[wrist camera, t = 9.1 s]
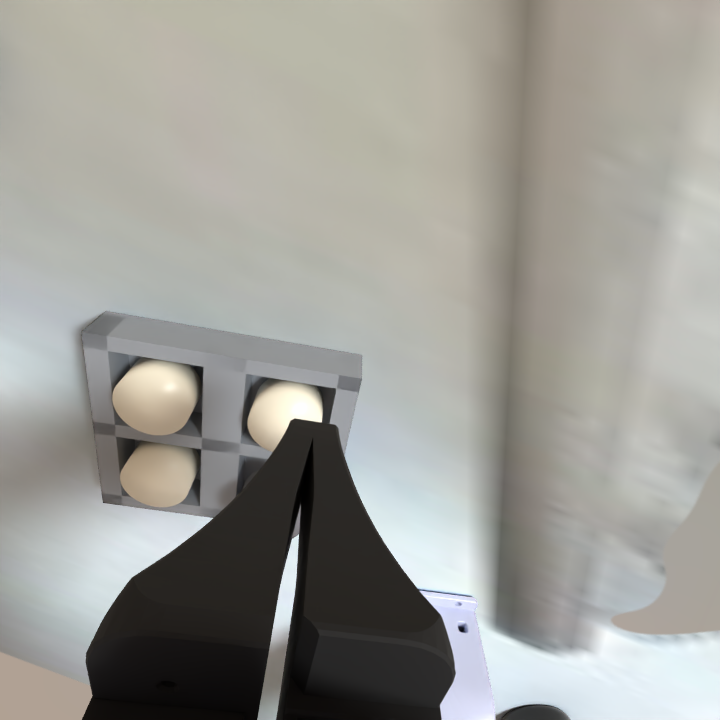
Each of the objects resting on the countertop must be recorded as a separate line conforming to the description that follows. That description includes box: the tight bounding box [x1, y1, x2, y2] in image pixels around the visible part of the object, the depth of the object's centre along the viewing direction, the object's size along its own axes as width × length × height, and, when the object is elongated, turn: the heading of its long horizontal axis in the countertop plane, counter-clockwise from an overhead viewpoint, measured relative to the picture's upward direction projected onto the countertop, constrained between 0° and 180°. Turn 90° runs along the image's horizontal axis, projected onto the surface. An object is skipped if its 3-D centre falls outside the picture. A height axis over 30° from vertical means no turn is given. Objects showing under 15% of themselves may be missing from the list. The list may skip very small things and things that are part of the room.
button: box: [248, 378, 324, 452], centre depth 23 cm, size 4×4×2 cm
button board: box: [81, 311, 362, 518], centre depth 25 cm, size 13×11×2 cm
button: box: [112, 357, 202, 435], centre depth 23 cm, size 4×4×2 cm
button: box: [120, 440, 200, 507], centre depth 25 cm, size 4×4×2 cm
